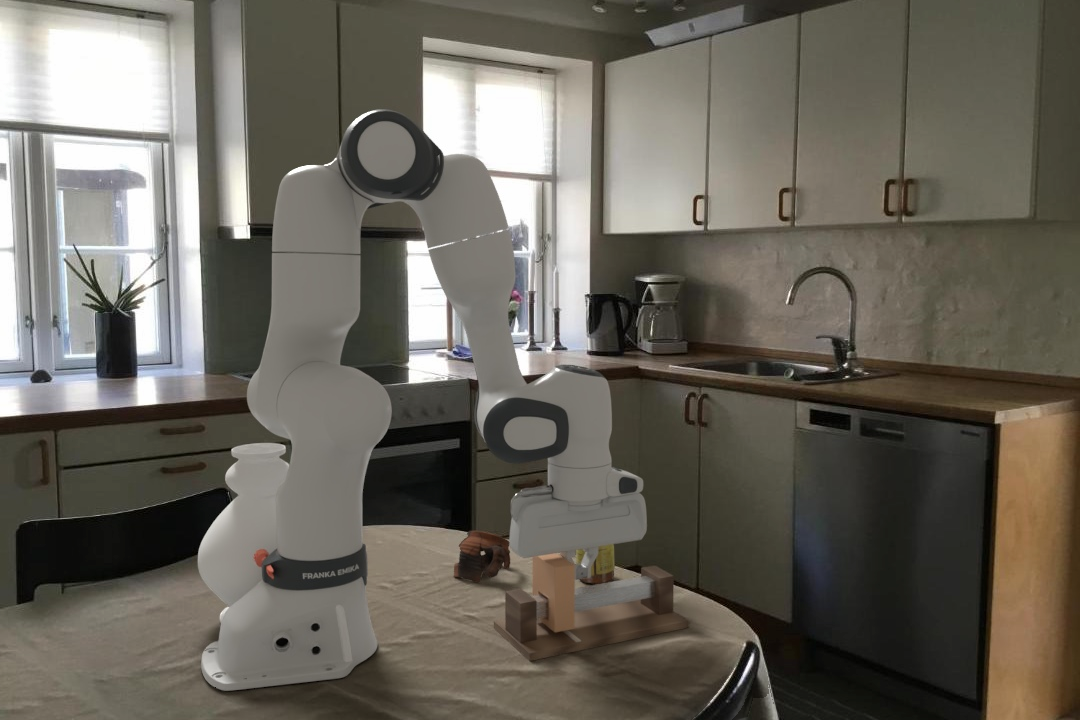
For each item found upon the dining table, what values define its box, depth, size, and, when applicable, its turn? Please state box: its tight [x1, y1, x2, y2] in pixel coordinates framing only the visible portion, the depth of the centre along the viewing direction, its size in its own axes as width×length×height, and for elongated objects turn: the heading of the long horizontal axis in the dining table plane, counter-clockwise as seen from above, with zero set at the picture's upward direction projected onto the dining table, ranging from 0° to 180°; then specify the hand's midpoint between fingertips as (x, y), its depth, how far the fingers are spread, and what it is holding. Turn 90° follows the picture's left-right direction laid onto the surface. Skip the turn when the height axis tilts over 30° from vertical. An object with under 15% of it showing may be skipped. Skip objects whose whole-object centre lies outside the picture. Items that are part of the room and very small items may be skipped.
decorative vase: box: [197, 442, 290, 624], centre depth 135 cm, size 18×18×25 cm
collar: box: [532, 553, 576, 632], centre depth 129 cm, size 3×7×9 cm, turn 26°
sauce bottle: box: [575, 544, 615, 585], centre depth 151 cm, size 7×6×20 cm
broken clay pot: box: [453, 530, 511, 583], centre depth 154 cm, size 12×10×8 cm
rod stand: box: [493, 564, 690, 662], centre depth 132 cm, size 25×12×6 cm, turn 116°
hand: (579, 578), depth 131 cm, fingers closed
